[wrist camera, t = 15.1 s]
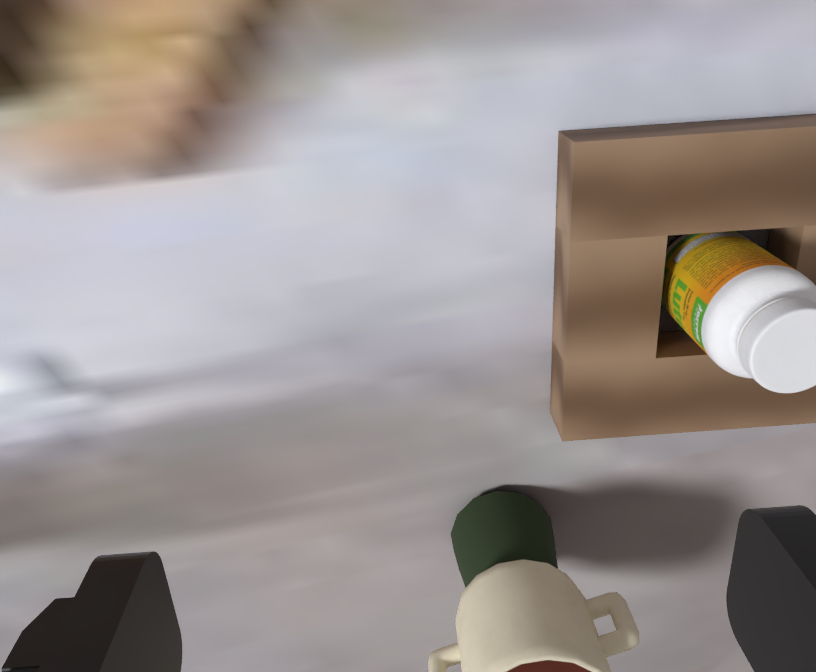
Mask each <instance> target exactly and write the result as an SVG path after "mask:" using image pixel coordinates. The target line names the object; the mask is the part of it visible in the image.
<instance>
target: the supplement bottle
mask: <svg viewBox="0 0 816 672" xmlns="http://www.w3.org/2000/svg"><path fill="white" fill-rule="evenodd" d="M661 304H662V306H663V307H664V308H665V310H666V311H667V312H668V313H669V314H670V315H671V316H672V318H673V319H674V320H675V321H676V322H677V323H678V324H679V325H680V326H681V327H682V328H683V329H684V330H685V332H686V333H687V334H688V335H689V336H690V337H691V338H692V339H693V340H694V341H695V342H696V343H697V344H698V345H699V346H700V347H701V349H702V350H703V351H704V352H705V353H706V354H707V355H708V356H709V357H710V358H711V359H712V360H713V361H714V362H715V363H716V364H717V365H718V366H719V367H721V368H722V369H723V370H725V371H727V372H729V373H731V374H733V375H736V376H739V377H744V378H753V379H754V380H755V381H756V382H757V383H759V384H760V385H761V386H762V387H764V388H766V389H768V390H770V391H773V392H778V393H796V392H800V391H804V390H806V389H809V388H811V387H813V386H815V385H816V286H815V285H814V283H813V282H812V281H811V280H809V279H808V278H807V277H806V276H804V275H803V274H802V273H800V272H799V271H797V270H796V269H794V268H793V267H791V266H789V265H788V264H786V263H785V262H783V261H782V260H780V259H778V258H777V257H775V256H774V255H772V254H771V253H769V252H768V251H766V250H764V249H763V248H761V247H760V246H758V245H757V244H755V243H754V242H752V241H751V240H749V239H748V238H746V237H745V236H743V235H741V234H740V233H738V232H736V231H727V232H712V233H698V234H684V235H682V236H681V237H679V238H678V239H677V240H675V241H674V242H673V243H672V244H671V245H670V246H669V247H668V249H667V250H666V258H665V269H664V279H663V289H662V299H661Z"/></svg>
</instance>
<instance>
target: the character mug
mask: <svg viewBox="0 0 816 672" xmlns="http://www.w3.org/2000/svg"><path fill="white" fill-rule="evenodd" d="M451 537H452V543H453V548H454V553H455V556H456V560H457V563H458V567H459V570H460V573H461V576H462V579H463V581H464V584H465V587H466V588H465V589H464V591H463V592H462V595H461V599H460V603H459V607H458V611H457V616H456V620H455V622H456V630H457V637H458V643H455V644H452V645H449V646H446V647H443V648H440V649H437V650H435V651H434V652H432V653H431V654H430V657H429V661H428V669H429V672H446V668H448V667H449V666H453V665H456V664H459V663H461V668H462V672H611V670H610V667H609V664H608V661H607V659H606V657H609V656H612V655H615V654H618V653H621V652H625V651H628V650H631V649H632V648H634V647H635V646H636V645H638V643H639V631H638V629H637V627H636V624H635V622H634V619H633V617H632V615H631V612H630V610H629V607H628V605H627V603H626V600H625V599H624V598H623V597H622V596H621V595H620V594H618V593H617V592H614V593H606V594H603V595H600V596H597V597H594V598H591V599H588V600H586V599H585V597H584V596H583V594H582V593H581V592H580V590H579V589H578V588H577V586H576V585H575V584H574V582H573V581H572V580H571V579H570V578H569V576H568V575H567V574H566V573H564V572H562V571H561V570H559V569H558V566H557V559H556V551H555V543H554V536H553V530H552V525H551V520H550V517H549V516H548V514H547V513H546V512H545V510H544V509H543V508H542V507H541V505H540V504H539V503H538V502H536V501H534V500H532V499H530V498H528V497H526V496H524V495H522V494H520V493H515V492H501V491H494V492H491V493H488V494H485V495H483V496H480V497H477V498H474V499H473V500H472V501H471V502H470V503H469V504H468V505H467V506H466V507H465V508H464V509H463V510H461V511H460V512H459V513H458V515H457V517H456V520H455V523H454V526H453V529H452V531H451ZM609 614H611V617H612V619H613V622H614V625H615V627H616V631H614V632H611V633H608V634H604V635H601V636H598V633H597V630H596V628H595V625H594V622H593V619H596V618H600V617H603V616H606V615H609Z"/></svg>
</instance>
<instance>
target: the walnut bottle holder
mask: <svg viewBox="0 0 816 672" xmlns="http://www.w3.org/2000/svg"><path fill="white" fill-rule="evenodd" d="M756 229H770V231H769V238H768V244H767V250H766V251H768V252H769V253H771V254H772V255H774V256H775V257H777V258H778V259H780V260H782V261H783V262H785V263H786V264H788V265H789V266H791V267H793V268H794V269H796V270H797V271H799V272H800V273H802V274H803V275H804V276H806V277H807V278H808V279H809V280H811V281H812V282H813V283H814V285H815V286H816V114H807V115H792V116H777V117H763V118H748V119H733V120H718V121H703V122H688V123H673V124H658V125H643V126H628V127H613V128H598V129H583V130H568V131H559V136H558V169H557V202H556V236H555V269H554V302H553V336H552V369H551V402H550V413H551V416H552V418H553V420H554V423H555V425H556V427H557V430H558V432H559V435H560V437H561V439H562V441H573V440H586V439H600V438H614V437H628V436H641V435H655V434H669V433H683V432H696V431H710V430H724V429H738V428H751V427H765V426H779V425H793V424H806V423H816V385H815V386H813V387H811V388H809V389H806V390H804V391H800V392H796V393H778V392H773V391H770V390H768V389H766V388H764V387H762V386H761V385H760V384H759V383H757V382H756V381H755V380H754V379H753V378H744V377H739V376H736V375H733V374H731V373H729V372H727V371H725V370H723V369H722V368H721V367H719V366H718V365H717V364H716V363H715V362H714V361H713V360H712V359H711V358H710V357H709V356H708V355H707V354H706V353H705V352H704V351H703V350H702V349H701V347H700V346H699V345H698V344H697V343H696V342H695V341H694V340H693V339H692V338H691V337H690V336H689V335H688V334H687V333H686V332H685V331H671V332H658V329H659V319H660V309H661V299H662V289H663V279H664V269H665V258H666V248H667V238H668V236H669V235H683V234H698V233H712V232H727V231H741V230H756Z"/></svg>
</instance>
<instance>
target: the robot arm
mask: <svg viewBox="0 0 816 672" xmlns="http://www.w3.org/2000/svg"><path fill="white" fill-rule="evenodd" d="M727 610H728V616H729V620H730V624H731V627H732V630H733V633H734V635H735V638H736V639H737V641H738V643H739V645H740V647H741V649H742V650H743V652H744V654H745V656H746V658H747V659H748V661H749V663H750V664H751V666H752V668H753V670H754V672H816V515H815V514H814V513H813V512H812V511H811V510H810V509H809V508H807V507H805V506H801V505H798V506H785V507H772V508H758V509H748V510H745V511H744V512H743V513H742V514H741V517H740V519H739V524H738V530H737V535H736V541H735V547H734V553H733V558H732V564H731V570H730V576H729V582H728V587H727ZM181 664H182V639H181V632H180V628H179V624H178V620H177V617H176V613H175V609H174V605H173V601H172V598H171V594H170V590H169V586H168V582H167V579H166V575H165V571H164V567H163V564H162V561H161V558H160V556H159V555H158V553H156V552H141V553H127V554H114V555H101V556H98V557H97V558H95V559H94V561H93V562H92V564H91V565H90V567H89V569H88V571H87V573H86V575H85V577H84V579H83V581H82V583H81V585H80V587H79V589H78V591H77V593H76V595H75V597H72V598H59V599H55V600H54V601H53V602H52V603H51V604H50V605H49V606H48V607H47V608H46V609H45V610H44V611H42V612H41V613H40V614H39V615H38V616H37V617H36V618H35V619H34V620H33V621H32V622H31V623H30V624H29V625H28V626H27V627H26V628H25V629H24V630H23V631H22V633H21V634H20V636H19V638H18V640H17V642H16V643H15V645H14V647H13V649H12V651H11V652H10V654H9V656H8V658H7V660H6V661H5V663H4V665H3V667H2V672H181Z"/></svg>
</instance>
